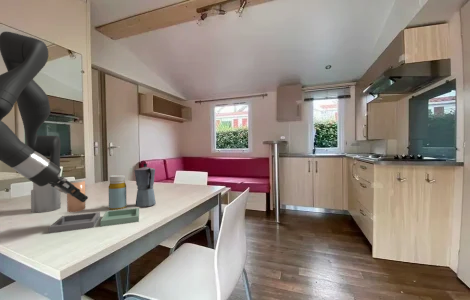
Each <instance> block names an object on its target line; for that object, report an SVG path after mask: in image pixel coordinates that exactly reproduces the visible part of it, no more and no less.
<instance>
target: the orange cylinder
mask: <svg viewBox="0 0 470 300" xmlns="http://www.w3.org/2000/svg"><path fill="white" fill-rule="evenodd" d="M69 182H70V183H72V184H73V185H74V186H75V187H76V188H78V189H80V192H81V193H83V194H84V195H86V180H70V181H69ZM74 191H75V190H74V189H73V190H72V191H71V193H73V192H74ZM66 204H67V205H66V209H67V210H66V211H67V212H68V213H77V212H81V211H84V210H86V201H85V202H81V201H80V200H78V199H77V198H75V197H72V195H70V194H68V193H67V194H66Z"/></svg>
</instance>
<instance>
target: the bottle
mask: <svg viewBox="0 0 470 300" xmlns="http://www.w3.org/2000/svg"><path fill="white" fill-rule="evenodd" d="M126 208H127V184H126V175H125V174H117V175H116V174H114V175H109V185H108V209H109V211H114V210H124V209H126Z"/></svg>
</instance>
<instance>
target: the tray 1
mask: <svg viewBox="0 0 470 300" xmlns="http://www.w3.org/2000/svg"><path fill="white" fill-rule="evenodd" d="M100 218H101V212H100V211H98V212H97V211H95V212H89V213H80V214H79V213H78V214H69V215H61V216H60V217H59V218H58V219H57V220H56V221H54V222H53V223H52V224H50V226H49V227H48V233H49V234H53V233H60V232H68V231H77V230H85V229H91V228H94V227H95V226H96V225H97V223H98V221H99V220H100Z"/></svg>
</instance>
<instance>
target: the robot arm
mask: <svg viewBox="0 0 470 300" xmlns="http://www.w3.org/2000/svg"><path fill="white" fill-rule="evenodd" d="M0 55H1V58H2V60H3V63H4V66H5V68H6V70H7V71H6V72H3V73H1V74H0V161H1V162H2V163H3V164H5V165H6V166H8V167H10V168H11V169H13V170H14V171H16V172H17V173H18V174H20V175H21V176H22V177H24V178H26V179H27V180H29V181H30V182H32V189H31V190H30V208H31V209H30V212H31V213H44V212H52V211H56V210H60V208H61V207H62V205H61V203H62V201H61V200H62V199H61V197H62V196H61V193H64V194H66V195H67V193H68V194H70V195H72V197H75V198H77V199H78V200H80V201H81V202H85V203H86V201H87V200H88V198H89V197H88V196H87V195H86V194H85V195H84V194H83V193H81V192H80V189H78V188H76V187H75V186H74V185H73V184H72V183H70V181H69V180H68V179H67V178H66V177H62V176H61V172H62V168H61V146H62V145H61V138H60V137H59V136H57V135H38V134H37V132H38V131H39V129H40V127H41V126H42V125H43V124H44V123H45V122H46V120H47V119H48V118H49V117H50V114H51V107H50V100H49V96H48V94H47V93H46V92H45V91H44V89H43V88H42V87H41V86H40V85H39V84H38V83H37V82H36V81H35V80H34V79H35V77H36V76H38V74H39V73H40V72H41V71H42V70H43V68H44V67H45V66H46V64H47V62H48V59H49V49H48V46H47V44H46V43H45V42H44V41H43V40H40V39H37V38H35V37H32V36H27V35H23V34H20V33H17V32H11V31H2V32H1V33H0ZM15 103H16V104H17V108H18V111H19V114H20V116H21V121H22V124H23V129H24V134H25V135H24V136H25V141H26V143H25V142H23V141H22V140H21V139H20V138H19V137H18V135H16V133H15V132H14V131H12V129H11V128H10V127H9V126H8V125H7V124H6V123H5V122H3V121H2V120H3V118H5V117H6V116H8V115H9V113H10V112H11V111H12V110H13V107H14V106H15ZM47 157H50V158H49V159H48V158H47ZM73 189H74V190H75V191H74V192H73V193H71V191H72V190H73Z"/></svg>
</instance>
